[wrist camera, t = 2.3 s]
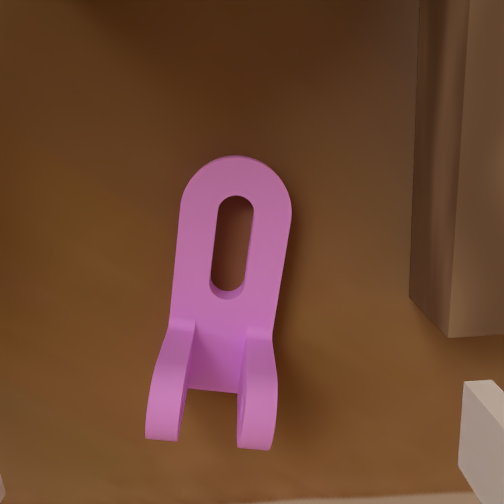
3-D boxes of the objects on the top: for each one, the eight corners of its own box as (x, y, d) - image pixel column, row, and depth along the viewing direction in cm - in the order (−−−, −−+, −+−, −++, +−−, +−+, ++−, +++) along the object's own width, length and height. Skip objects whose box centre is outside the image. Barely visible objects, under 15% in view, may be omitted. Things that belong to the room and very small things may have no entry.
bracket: (260, 382, 27) (267, 469, 20) (166, 372, 27) (142, 456, 20) (296, 162, 23) (319, 181, 17) (188, 147, 23) (168, 160, 16)
